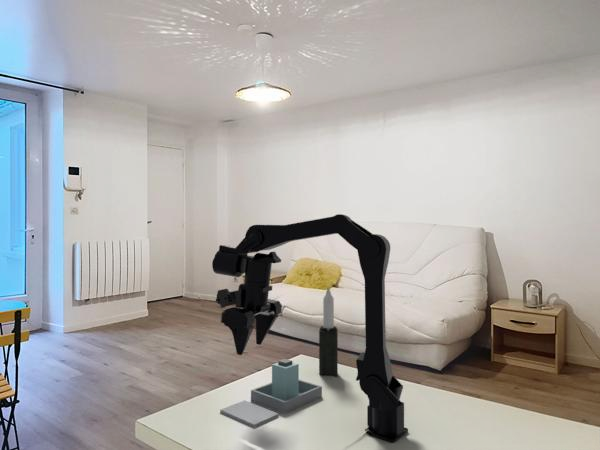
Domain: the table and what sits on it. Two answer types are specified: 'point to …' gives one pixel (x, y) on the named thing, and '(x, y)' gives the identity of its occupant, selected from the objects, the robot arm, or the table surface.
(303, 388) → the case
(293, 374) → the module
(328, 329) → the black grey pointed bar
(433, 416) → the table surface
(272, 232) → the robot arm
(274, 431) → the table surface
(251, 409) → the lid panel
